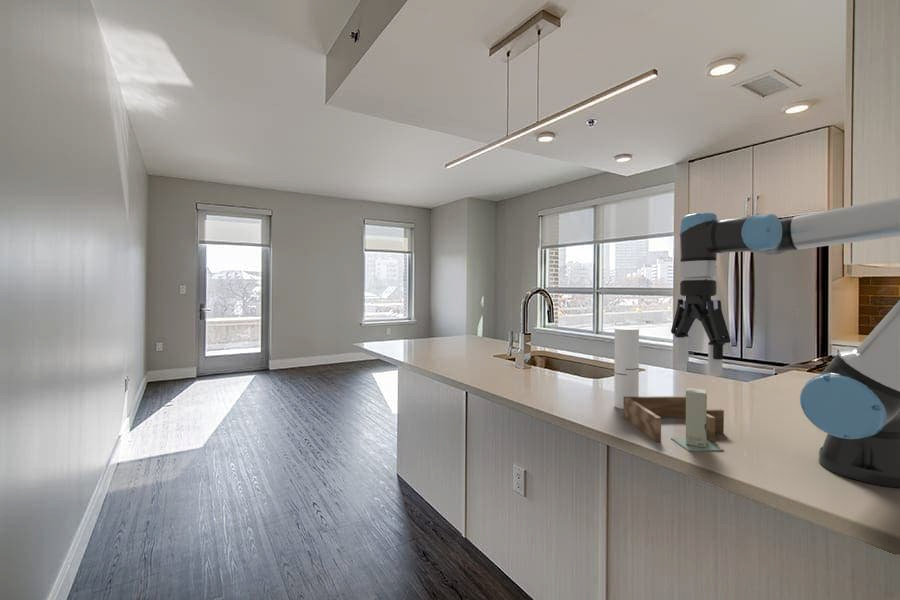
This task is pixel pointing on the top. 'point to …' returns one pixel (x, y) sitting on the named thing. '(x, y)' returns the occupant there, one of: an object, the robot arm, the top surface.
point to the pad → (708, 447)
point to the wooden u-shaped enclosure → (666, 414)
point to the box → (696, 417)
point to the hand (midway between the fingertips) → (697, 368)
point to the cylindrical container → (626, 365)
